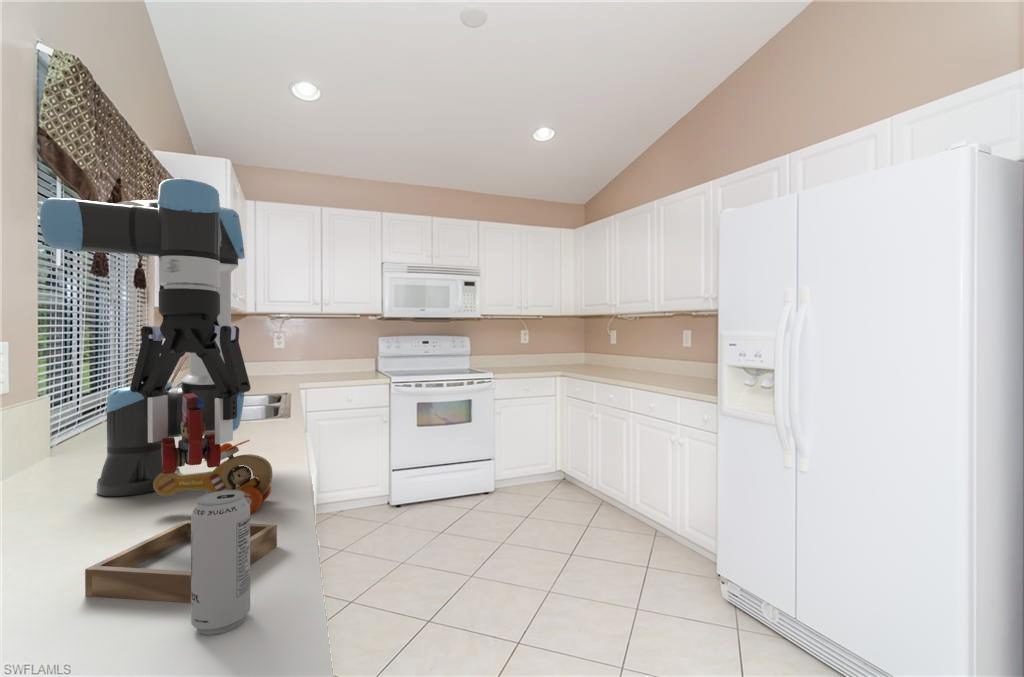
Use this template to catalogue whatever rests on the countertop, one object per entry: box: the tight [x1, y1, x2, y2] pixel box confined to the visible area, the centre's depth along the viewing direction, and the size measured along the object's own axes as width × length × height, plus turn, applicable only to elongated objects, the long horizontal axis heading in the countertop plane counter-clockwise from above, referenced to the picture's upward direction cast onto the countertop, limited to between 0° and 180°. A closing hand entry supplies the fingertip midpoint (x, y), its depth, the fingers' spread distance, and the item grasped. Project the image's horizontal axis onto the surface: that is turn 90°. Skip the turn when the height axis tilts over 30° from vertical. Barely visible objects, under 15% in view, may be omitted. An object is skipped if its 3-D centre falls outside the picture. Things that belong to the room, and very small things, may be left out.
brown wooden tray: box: [84, 520, 278, 604], centre depth 71 cm, size 17×16×4 cm
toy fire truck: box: [161, 393, 222, 474], centre depth 71 cm, size 7×12×10 cm, turn 37°
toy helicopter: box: [153, 439, 273, 514], centre depth 95 cm, size 8×21×14 cm, turn 102°
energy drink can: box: [190, 490, 251, 636], centre depth 58 cm, size 6×6×15 cm
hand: (190, 441), depth 71 cm, fingers closed on toy fire truck, 10 cm apart
